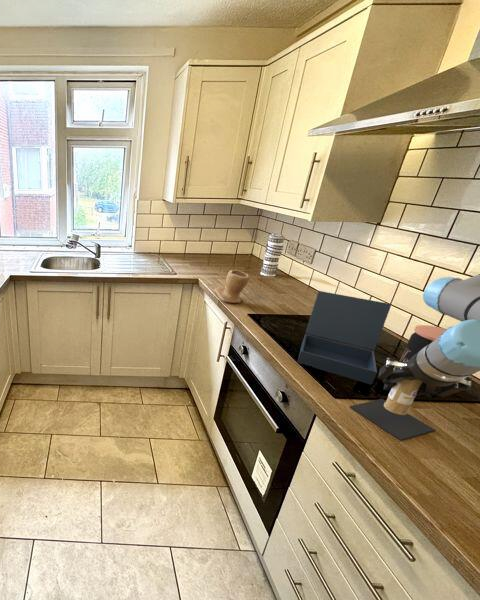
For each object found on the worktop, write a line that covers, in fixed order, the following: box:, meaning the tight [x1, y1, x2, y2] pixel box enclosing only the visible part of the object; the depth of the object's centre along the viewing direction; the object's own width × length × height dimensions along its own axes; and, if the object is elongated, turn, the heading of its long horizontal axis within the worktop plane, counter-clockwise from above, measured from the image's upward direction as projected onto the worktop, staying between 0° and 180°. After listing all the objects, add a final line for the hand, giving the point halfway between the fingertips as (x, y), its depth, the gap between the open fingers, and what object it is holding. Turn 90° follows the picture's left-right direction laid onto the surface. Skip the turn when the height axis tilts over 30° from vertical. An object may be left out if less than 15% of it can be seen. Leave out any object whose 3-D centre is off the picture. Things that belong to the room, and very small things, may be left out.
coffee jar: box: [396, 324, 448, 397], centre depth 92 cm, size 11×11×18 cm
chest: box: [297, 333, 378, 386], centre depth 106 cm, size 15×19×5 cm
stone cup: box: [214, 269, 250, 304], centre depth 156 cm, size 15×12×15 cm
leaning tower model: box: [260, 233, 286, 277], centre depth 193 cm, size 9×9×25 cm
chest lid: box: [305, 290, 392, 351], centre depth 108 cm, size 16×19×1 cm
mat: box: [349, 398, 436, 442], centre depth 82 cm, size 12×12×1 cm
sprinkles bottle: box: [384, 368, 422, 415], centre depth 79 cm, size 5×5×14 cm
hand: (399, 389), depth 82 cm, fingers closed on sprinkles bottle, 4 cm apart
